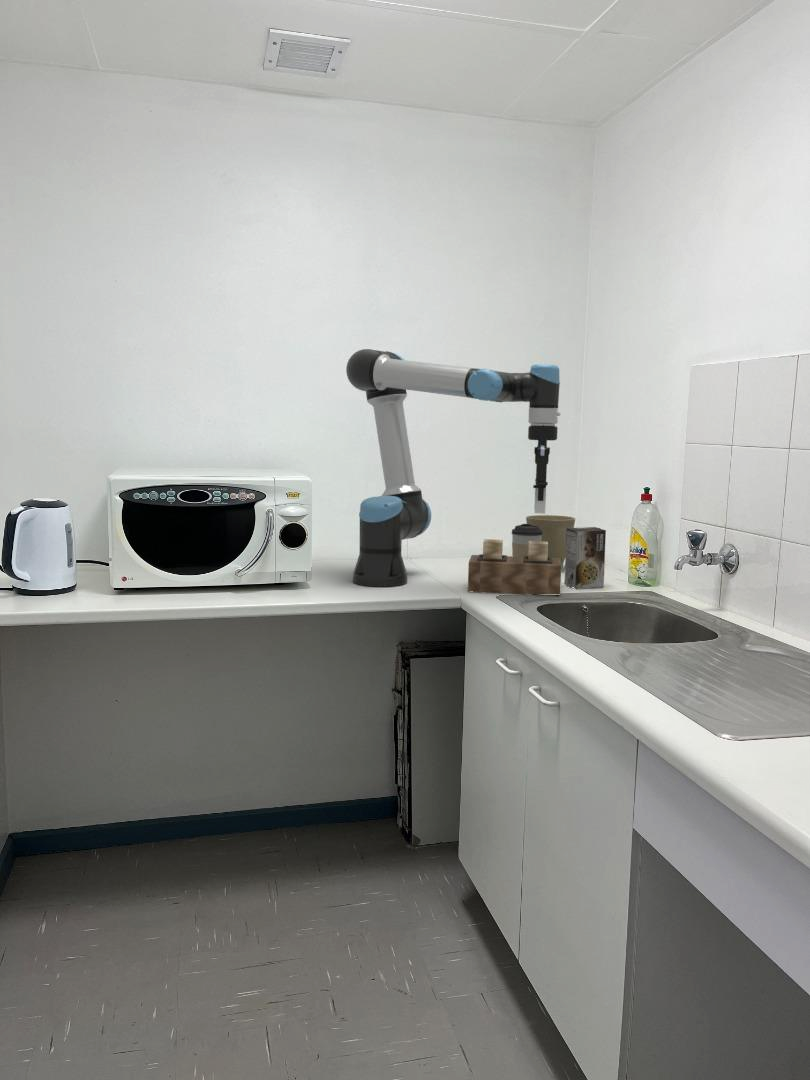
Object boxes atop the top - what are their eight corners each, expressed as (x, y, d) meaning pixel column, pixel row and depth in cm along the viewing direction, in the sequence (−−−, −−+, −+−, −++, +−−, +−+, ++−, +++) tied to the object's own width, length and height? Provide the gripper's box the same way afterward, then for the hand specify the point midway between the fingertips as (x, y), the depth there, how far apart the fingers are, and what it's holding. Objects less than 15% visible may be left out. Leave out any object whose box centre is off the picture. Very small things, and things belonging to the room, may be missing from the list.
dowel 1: (482, 565, 220) (483, 541, 219) (483, 562, 225) (484, 539, 224) (501, 566, 219) (502, 542, 218) (501, 563, 224) (502, 539, 223)
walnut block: (467, 591, 218) (468, 559, 217) (470, 583, 230) (471, 552, 229) (559, 596, 215) (561, 563, 213) (558, 587, 226) (559, 556, 225)
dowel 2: (527, 567, 218) (528, 543, 217) (527, 564, 223) (528, 540, 222) (547, 568, 218) (548, 544, 217) (546, 565, 223) (547, 541, 222)
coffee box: (592, 583, 233) (594, 526, 230) (604, 587, 227) (607, 529, 224) (563, 584, 230) (565, 527, 228) (574, 589, 224) (577, 530, 222)
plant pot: (578, 567, 259) (580, 516, 256) (566, 574, 245) (568, 521, 243) (532, 562, 265) (533, 513, 263) (517, 570, 252) (519, 518, 249)
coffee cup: (543, 578, 238) (545, 527, 236) (511, 578, 238) (513, 526, 236) (538, 573, 247) (540, 523, 245) (508, 572, 247) (510, 522, 245)
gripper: (559, 425, 204) (555, 516, 207) (556, 425, 225) (552, 507, 228) (528, 424, 205) (525, 515, 209) (528, 424, 226) (525, 507, 229)
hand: (539, 511), depth 218 cm, fingers open, 8 cm apart
